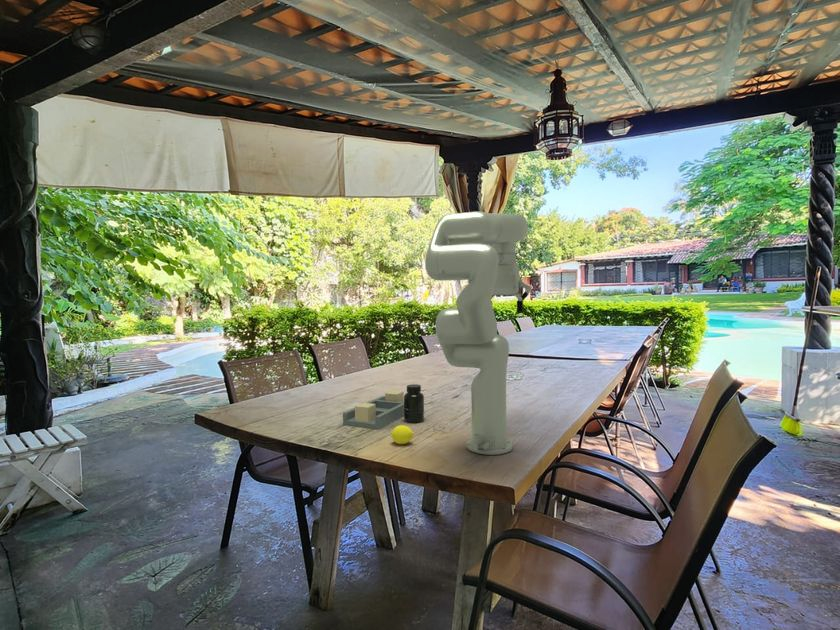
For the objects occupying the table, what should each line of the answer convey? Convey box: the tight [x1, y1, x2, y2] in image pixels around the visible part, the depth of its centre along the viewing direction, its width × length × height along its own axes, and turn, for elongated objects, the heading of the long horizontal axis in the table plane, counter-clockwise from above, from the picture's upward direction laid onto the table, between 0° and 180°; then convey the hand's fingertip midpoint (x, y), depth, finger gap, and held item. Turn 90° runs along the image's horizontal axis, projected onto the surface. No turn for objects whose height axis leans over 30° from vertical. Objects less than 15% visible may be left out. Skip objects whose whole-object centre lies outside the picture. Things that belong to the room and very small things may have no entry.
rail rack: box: [342, 390, 405, 430], centre depth 156 cm, size 26×14×6 cm, turn 155°
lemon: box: [390, 424, 415, 445], centre depth 128 cm, size 7×5×5 cm
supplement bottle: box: [403, 383, 425, 424], centre depth 151 cm, size 7×7×12 cm
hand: (504, 313), depth 144 cm, fingers open, 9 cm apart
